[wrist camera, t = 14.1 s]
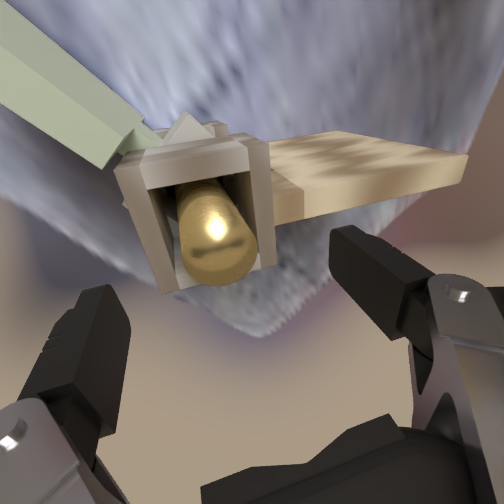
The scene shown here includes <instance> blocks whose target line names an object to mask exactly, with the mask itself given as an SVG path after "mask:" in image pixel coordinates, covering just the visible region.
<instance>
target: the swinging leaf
mask: <svg viewBox="0 0 504 504" xmlns="http://www.w3.org/2000/svg"><path fill="white" fill-rule="evenodd" d="M0 103H1V104H3V105H4V106H6V107H7V108H9V109H10V110H12V111H13V112H15V113H16V114H18V115H19V116H21V117H22V118H24V119H25V120H27V121H28V122H30V123H31V124H33V125H34V126H36V127H38V128H39V129H41V130H42V131H44V132H45V133H47V134H48V135H50V136H51V137H53V138H54V139H56V140H57V141H59V142H60V143H62V144H63V145H65V146H66V147H68V148H69V149H71V150H72V151H74V152H76V153H77V154H79V155H80V156H82V157H83V158H85V159H86V160H88V161H89V162H91V163H92V164H94V165H95V166H97V167H98V168H100V169H101V170H102V169H103V168H104V167H105V165H106V164H107V163H108V162H109V161H110V160H111V159H112V158H113V156H114V155H115V154H116V153H117V152H118V153H119V154H121V155H122V156H124V155H125V154H126V152H128V151H135V150H141V149H147V148H153V147H159V146H165V145H172V144H178V143H184V142H190V141H196V140H202V139H208V138H215V137H214V136H212V135H211V134H210V133H209V132H208V131H207V130H206V129H205V128H204V127H203V126H202V125H201V124H200V123H199V122H197V121H196V120H195V119H194V118H193V117H192V116H191V115H190V114H189V113H187V112H186V111H183V112H182V114H181V115H180V117H179V118H178V119H177V121H176V122H175V123H174V125H173V126H172V128H171V129H170V130H169V132H168V133H167V134H166V136H165V137H164V138H163V139H162V138H160V137H159V136H158V135H157V134H155V133H154V132H153V131H152V130H151V129H149V128H148V127H147V126H146V125H144V124H143V123H142V121H143V120H144V118H145V117H144V116H142V115H141V114H140V113H139V112H138V111H136V110H135V109H134V108H133V107H131V106H130V105H129V104H128V103H127V102H125V101H124V100H123V99H122V98H121V97H119V96H118V95H117V94H116V93H115V92H113V91H112V90H111V89H110V88H109V87H107V86H106V85H105V84H104V83H103V82H101V81H100V80H99V79H98V78H97V77H95V76H94V75H93V74H92V73H91V72H89V71H88V70H87V69H86V68H85V67H83V66H82V65H81V64H80V63H79V62H77V61H76V60H75V59H74V58H73V57H71V56H70V55H69V54H68V53H67V52H65V51H64V50H63V49H62V48H61V47H59V46H58V45H57V44H56V43H55V42H53V41H52V40H51V39H50V38H49V37H47V36H46V35H45V34H44V33H43V32H41V31H40V30H39V29H38V28H37V27H35V26H34V25H33V24H32V23H31V22H29V21H28V20H27V19H26V18H25V17H23V16H22V15H21V14H20V13H19V12H17V11H16V10H15V9H14V8H13V7H11V6H10V5H9V4H8V3H7V2H5V1H4V0H0ZM231 175H232V177H231V178H230V179H229V181H228V182H227V183H226V184H225V185H224V187H223V188H224V190H225V192H226V193H227V195H228V196H229V198H230V199H231V201H232V202H233V204H234V205H235V207H236V208H237V210H238V211H239V209H238V202H237V195H236V189H235V182H234V175H233V174H231ZM158 190H159V193H160V196H161V199H162V202H163V206H164V209H165V212H166V215H167V219H168V222H169V225H170V228H171V232H172V235H173V237H179V236H180V233H179V224H178V215H177V205H176V200H175V199H173V198H172V197H171V196H169V195H168V194H166V193H165V192H163V191H162V190H161V189H159V188H158ZM122 206H124V207H125V208H127V209H128V207H127V205H126V202H125V199H124V200H123V203H122Z"/></svg>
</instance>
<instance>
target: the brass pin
mask: <svg viewBox="0 0 504 504" xmlns="http://www.w3.org/2000/svg"><path fill="white" fill-rule="evenodd" d="M174 186H175V196H176V205H177V215H178V224H179V233H180V243H181V252H182V261H183V265H184V268H185V270H186V271H187V273H188V274H189V275H190V276H191V277H192V278H193V279H194V280H196V281H198V282H200V283H202V284H205V285H209V286H223V285H228V284H231V283H234V282H236V281H238V280H239V279H241V278H242V277H244V276H245V275H246V274H247V273H248V272H249V271H250V270H251V268H252V267H253V265H254V263H255V261H256V258H257V254H258V245H257V241H256V238H255V236H254V234H253V233H252V231H251V230H250V228H249V227H248V225H247V224H246V222H245V221H244V219H243V218H242V216H241V214H240V213H239V211H238V210H237V208H236V207H235V205H234V204H233V202H232V201H231V199H230V198H229V196H228V195H227V193H226V192H225V190H224V188H223V187H222V185H221V184H220V182H219V181H218V179H217V178H216V177H212V178H207V179H202V180H196V181H191V182H186V183H180V184H175V185H174Z"/></svg>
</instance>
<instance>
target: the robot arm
mask: <svg viewBox="0 0 504 504" xmlns="http://www.w3.org/2000/svg"><path fill="white" fill-rule="evenodd" d="M329 269H330V272H331V275H332V276H333V278H334V279H335V280H336V281H337V282H338V283H339V284H340V286H341V287H343V289H344V290H345V291H346V292H347V293H348V294H349V295H350V296H351V298H352V299H353V300H354V301H355V302H356V303H357V304H358V305H359V306H360V307H361V308H362V310H363V311H364V312H365V313H366V314H367V315H368V316H369V317H370V318H371V319H372V320H373V322H374V323H375V324H376V325H377V326H378V327H379V328H380V329H381V330H382V331H383V332H384V333H385V335H386V336H387V337H388V338H389V339H390V340H391V341H393V340H396V339H399V338H402V337H406V338H407V339H409V341H410V342H409V345H408V354H409V364H410V373H411V383H412V392H413V415H412V427H411V428H410V427H398V426H397V424H396V423H395V422H394V420H393V419H392V417H391V416H390V414H386V415H383V416H380V417H378V418H375V419H373V420H370V421H368V422H365V423H362V424H360V425H357V426H355V427H352V428H350V429H347V430H346V431H345V432H344V433H342V434H341V435H340V436H339V437H337V438H336V439H335V440H334V441H333V442H332V443H331V444H329V445H328V446H327V447H326V448H325V449H323V450H322V451H321V452H320V453H319V454H318V455H316V456H315V457H314V458H313V459H312V460H310V461H309V462H307V463H304V464H295V465H294V464H293V465H277V466H259V467H250V468H247V469H245V470H242V471H240V472H237V473H234V474H232V475H229V476H227V477H224V478H222V479H219V480H217V481H214V482H211V483H209V484H206V485H204V486H201V487H200V489H201V501H202V504H504V287H484V286H483V285H482V284H480V283H479V282H477V281H475V280H473V279H470V278H468V277H465V276H461V275H456V274H438V275H436V274H434V273H433V272H431V271H430V270H428V269H427V268H425V267H424V266H422V265H421V264H419V263H418V262H416V261H415V260H413V259H412V258H410V257H409V256H407V255H406V254H404V253H403V254H402V253H401V251H400V250H398V249H397V248H395V247H392V245H391V244H389V243H388V242H386V241H385V240H383V239H381V238H379V237H376V236H373V235H370V234H366V233H364V232H363V231H361V230H360V229H359V228H357V227H356V226H354V225H347V226H343V227H339V228H335V229H332V230H331V232H330V242H329ZM130 337H131V327H130V322H129V318H128V316H127V314H126V312H125V310H124V309H123V306H122V305H121V303H120V301H119V299H118V297H117V295H116V293H115V291H114V289H113V288H112V286H111V285H109V284H106V285H102V286H98V287H94V288H90V289H86V290H83V291H82V292H81V294H80V296H79V298H78V301H77V303H76V305H75V307H74V309H69V310H68V311H67V312H66V313H65V314H64V315H63V316H62V317H61V318H60V319H59V320H58V321H57V322H56V323H55V325H54V327H53V329H52V331H51V333H50V335H49V337H48V338H49V340H47V341H46V343H45V345H44V347H43V349H42V350H43V352H42V353H40V355H39V357H38V359H37V361H36V363H35V365H34V367H33V369H32V371H31V373H30V375H29V377H28V379H27V381H26V383H25V385H24V387H23V389H22V391H21V393H20V395H19V397H18V399H17V401H16V402H14V403H12V404H10V405H8V406H6V407H5V408H3V409H2V410H0V504H130V503H129V501H128V500H127V498H126V497H125V495H124V494H123V492H122V491H121V489H120V488H119V486H118V485H117V483H116V482H115V480H114V479H113V478H112V476H111V475H110V473H109V472H108V470H107V468H106V467H105V466H104V464H103V463H102V461H101V460H100V458H99V457H98V456H97V455H96V449H97V445H98V440H99V438H102V437H105V436H108V435H111V434H114V433H115V432H116V426H117V419H118V413H119V407H120V401H121V394H122V388H123V381H124V374H125V369H126V362H127V356H128V350H129V343H130Z"/></svg>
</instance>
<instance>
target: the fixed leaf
mask: <svg viewBox="0 0 504 504" xmlns="http://www.w3.org/2000/svg"><path fill="white" fill-rule="evenodd" d="M200 124H201V125H202V126H203V127H204V128H205V129H206V130H207V131H208V132H209V133H210V134H211V135H212V136H214V137H215V138H208V139H202V140H196V141H190V142H184V143H178V144H172V145H165V146H159V147H153V148H147V149H141V150H135V151H128V152H126V154H125V155H124V156H123V158H122V159H121V161H120V162H119V163H118V165H117V166H116V167H115V169H114V170H113V171H114V174H115V176H116V179H117V181H118V184H119V187H120V189H121V192H122V194H123V197H124V199H125V202H126V205H127V207H128V210H129V212H130V215H131V217H132V220H133V223H134V225H135V228H136V230H137V233H138V235H139V238H140V241H141V243H142V246H143V248H144V251H145V253H146V256H147V259H148V261H149V264H150V266H151V269H152V271H153V274H154V277H155V279H156V282H157V284H158V287H159V289H160V292H161V294H166V293H170V292H174V291H178V290H182V289H185V288H189V287H193V286H197V285H201V284H202V283H200V282H198V281H196V280H194V279H193V278H192V277H191V276H190V275H189V274H188V273H187V271H186V270H185V268H184V265H183V261H182V252H181V243H180V236H179V237H174V238H173V235H172V232H171V228H170V225H169V222H168V219H167V215H166V212H165V209H164V206H163V202H162V199H161V196H160V193H159V190H158V188H159V189H161V190H162V191H163V192H165V193H166V194H168V195H169V196H171V197H172V198H173V199H175V200H176V196H175V193H171V192H170V188H169V186H170V185H175V184H180V183H186V182H191V181H196V180H202V179H207V178H212V177H216V178H217V179H218V181H219V182H220V184H221V185H222V187H224V185H225V184H226V183H227V182H228V181H229V179H230V178H231V177H232V175H231V174H233V175H234V182H235V189H236V195H237V202H238V209H239V213H240V214H241V216H242V218H243V219H244V221H245V222H246V224H247V225H248V227H249V228H250V230H251V231H252V233H253V234H254V236H255V238H256V241H257V245H258V254H257V258H256V261H255V263H254V265H253V267H252V268H251V270H250V271H249V272H251V271H255V270H258V269H262V268H266V267H270V266H274V265H277V251H276V237H275V226H277V225H281V224H285V223H290V222H294V221H298V220H303V219H307V218H311V217H315V216H320V215H324V214H328V213H333V212H337V211H341V210H346V209H350V208H354V207H358V206H363V205H367V204H371V203H376V202H380V201H384V200H389V199H393V198H397V197H402V196H406V195H410V194H414V193H419V192H423V191H427V190H432V189H436V188H440V187H445V186H449V185H453V184H457V183H460V181H461V179H462V175H463V172H464V169H465V166H466V163H467V160H468V155H463V154H458V153H452V152H447V151H442V150H437V149H431V148H426V147H421V146H416V145H411V144H405V143H400V142H395V141H390V140H384V139H379V138H374V137H369V136H364V135H358V134H353V133H348V132H343V131H331V132H325V133H319V134H313V135H308V136H302V137H296V138H290V139H284V140H278V141H273V142H267V143H266V142H264V141H262V140H260V139H257V138H255V137H253V136H251V135H248V134H246V133H239V134H233V135H228V128H227V125H226V124H224V123H221V122H219V121H212V122H205V123H200ZM170 129H171V128H166V129H159V130H153V132H154V133H155V134H157V135H158V136H159V137H160V138H162V139H163V138H164V137H165V136H166V134H167V133H168V132H169V130H170Z"/></svg>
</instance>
